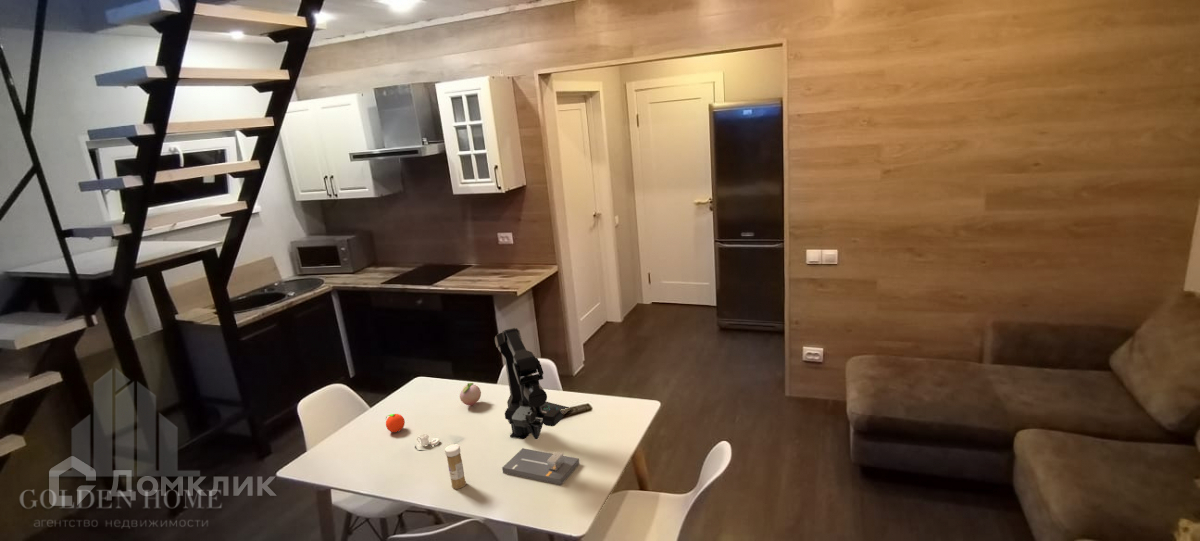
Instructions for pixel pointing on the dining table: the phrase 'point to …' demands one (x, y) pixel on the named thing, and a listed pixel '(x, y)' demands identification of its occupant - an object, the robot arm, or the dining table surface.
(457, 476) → the sprinkles bottle
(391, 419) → the clementine
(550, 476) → the board
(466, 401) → the decorative fruit
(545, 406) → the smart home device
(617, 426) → the dining table surface
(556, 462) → the fader tab
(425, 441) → the white charger with cable
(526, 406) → the robot arm
